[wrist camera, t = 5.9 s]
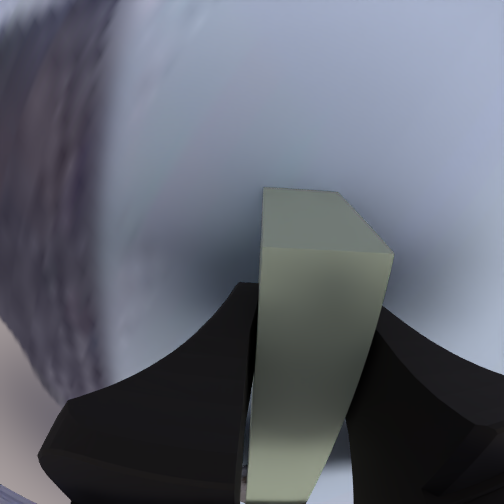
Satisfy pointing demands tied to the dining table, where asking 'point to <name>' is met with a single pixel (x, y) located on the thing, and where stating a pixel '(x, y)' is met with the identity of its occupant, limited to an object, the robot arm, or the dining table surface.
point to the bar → (309, 335)
